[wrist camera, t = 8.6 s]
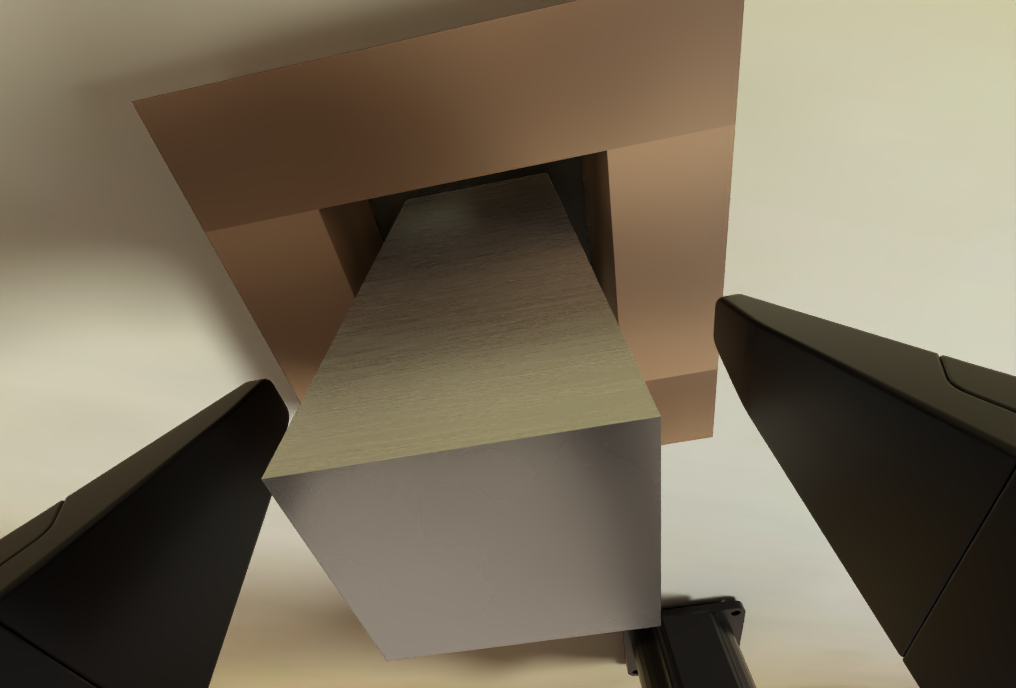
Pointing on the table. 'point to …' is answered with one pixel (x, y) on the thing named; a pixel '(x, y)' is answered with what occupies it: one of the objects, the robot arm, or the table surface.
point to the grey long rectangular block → (479, 437)
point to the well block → (482, 168)
